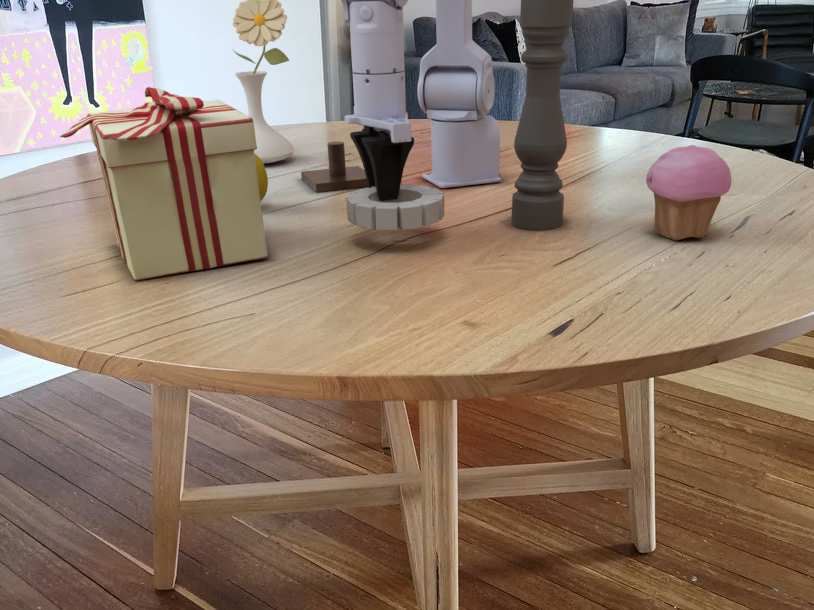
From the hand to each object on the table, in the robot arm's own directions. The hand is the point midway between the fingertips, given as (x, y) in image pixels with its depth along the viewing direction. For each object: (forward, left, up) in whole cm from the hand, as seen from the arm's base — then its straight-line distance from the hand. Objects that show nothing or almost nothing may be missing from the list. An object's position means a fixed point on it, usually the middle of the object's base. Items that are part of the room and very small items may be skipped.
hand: (384, 196), depth 96 cm
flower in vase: (+5, -48, -4) cm, 48 cm away
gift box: (+24, -1, -4) cm, 24 cm away
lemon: (+13, -18, -4) cm, 22 cm away
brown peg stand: (-2, -28, -4) cm, 28 cm away
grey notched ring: (0, +4, -1) cm, 4 cm away
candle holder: (-18, +4, -4) cm, 19 cm away
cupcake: (-30, +16, -4) cm, 34 cm away
